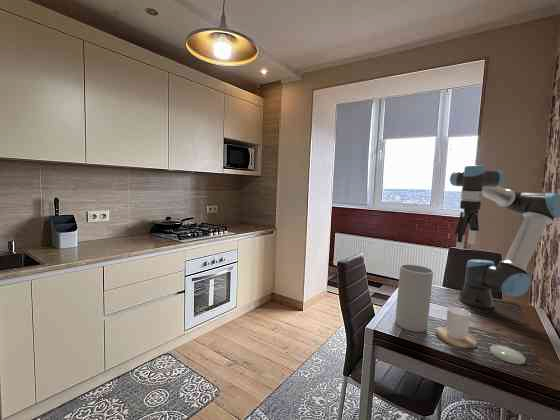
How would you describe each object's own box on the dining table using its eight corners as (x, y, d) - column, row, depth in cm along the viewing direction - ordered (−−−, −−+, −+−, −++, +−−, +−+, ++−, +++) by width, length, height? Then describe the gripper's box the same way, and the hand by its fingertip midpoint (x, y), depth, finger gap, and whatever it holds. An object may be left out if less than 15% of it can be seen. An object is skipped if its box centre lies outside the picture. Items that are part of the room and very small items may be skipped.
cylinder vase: (411, 317, 130) (416, 263, 127) (434, 331, 118) (440, 272, 116) (388, 320, 126) (394, 264, 123) (409, 334, 114) (416, 273, 112)
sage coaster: (501, 346, 109) (501, 343, 109) (531, 361, 100) (532, 359, 100) (483, 349, 106) (483, 347, 106) (513, 366, 96) (513, 363, 96)
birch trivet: (452, 327, 122) (452, 324, 122) (485, 345, 109) (485, 342, 109) (427, 331, 117) (427, 328, 117) (458, 350, 104) (459, 347, 104)
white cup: (440, 330, 117) (443, 306, 116) (458, 330, 117) (461, 306, 116) (453, 340, 109) (456, 315, 108) (472, 340, 109) (475, 315, 109)
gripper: (469, 203, 116) (463, 253, 119) (490, 199, 131) (484, 243, 134) (449, 201, 122) (444, 249, 125) (471, 197, 137) (466, 240, 140)
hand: (465, 246), depth 130 cm, fingers open, 13 cm apart
